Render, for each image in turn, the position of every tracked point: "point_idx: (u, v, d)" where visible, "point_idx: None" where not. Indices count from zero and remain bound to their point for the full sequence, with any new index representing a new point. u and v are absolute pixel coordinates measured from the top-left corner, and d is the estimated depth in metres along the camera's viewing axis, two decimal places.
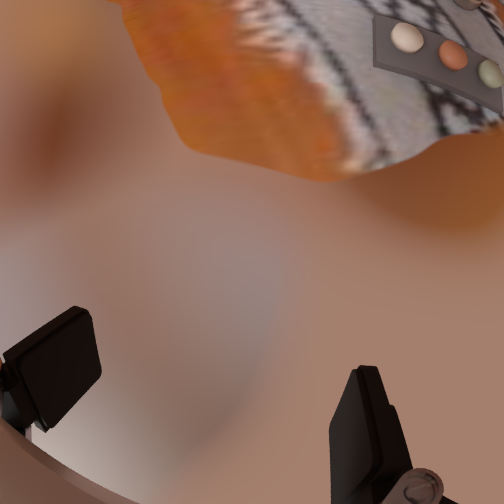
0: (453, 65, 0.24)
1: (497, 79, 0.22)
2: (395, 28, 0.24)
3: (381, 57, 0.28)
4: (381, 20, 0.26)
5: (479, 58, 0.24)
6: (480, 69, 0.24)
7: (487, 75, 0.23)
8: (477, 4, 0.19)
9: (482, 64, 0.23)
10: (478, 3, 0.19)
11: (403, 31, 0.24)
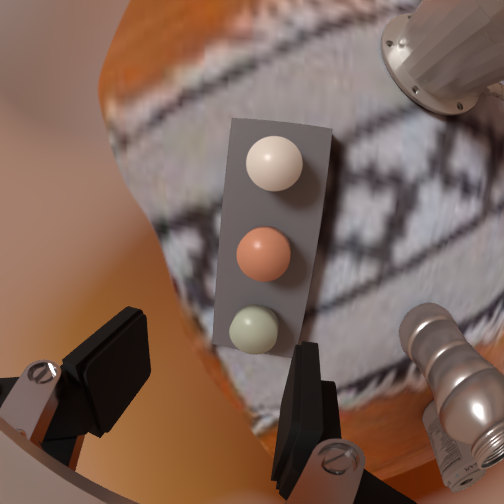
0: (238, 245, 0.24)
1: (242, 339, 0.26)
2: (283, 139, 0.21)
3: (240, 126, 0.24)
4: (319, 136, 0.23)
5: (292, 320, 0.28)
6: (256, 309, 0.26)
7: (241, 317, 0.25)
8: (406, 350, 0.25)
9: (263, 314, 0.25)
10: (407, 352, 0.24)
11: (280, 153, 0.21)
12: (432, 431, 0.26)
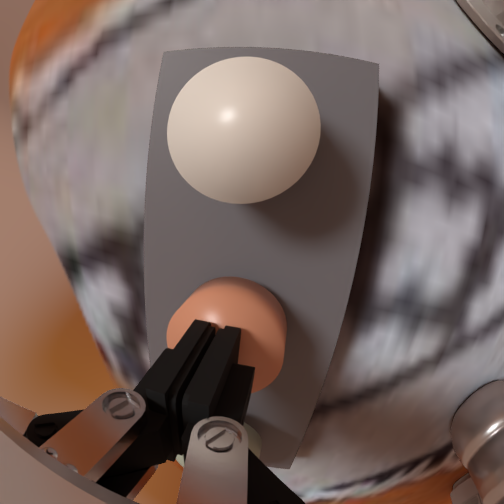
0: (170, 323, 0.10)
1: None
2: (264, 63, 0.07)
3: (179, 63, 0.10)
4: (352, 77, 0.09)
5: (288, 431, 0.14)
6: None
7: None
8: (461, 455, 0.11)
9: None
10: (462, 460, 0.10)
11: (256, 99, 0.07)
12: None
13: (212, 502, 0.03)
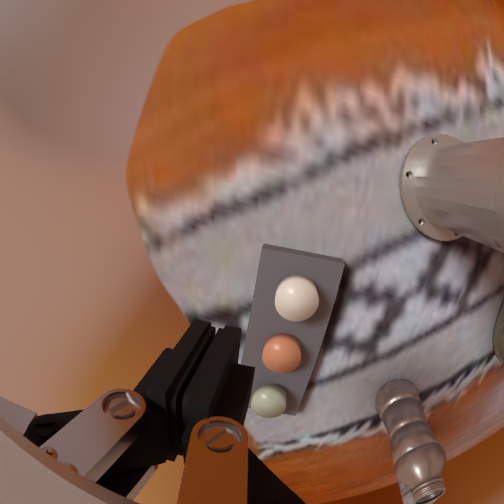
0: (264, 349, 0.31)
1: (260, 408, 0.32)
2: (305, 284, 0.27)
3: (269, 255, 0.30)
4: (333, 269, 0.30)
5: (296, 393, 0.34)
6: (271, 389, 0.32)
7: (261, 396, 0.31)
8: (379, 413, 0.32)
9: (277, 394, 0.31)
10: (380, 416, 0.31)
11: (302, 295, 0.28)
12: None
13: (212, 502, 0.03)
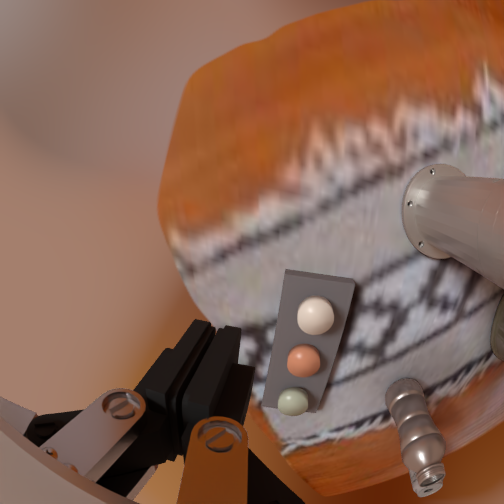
0: (288, 358, 0.36)
1: (286, 408, 0.37)
2: (323, 304, 0.32)
3: (291, 280, 0.35)
4: (345, 289, 0.34)
5: (316, 393, 0.39)
6: (295, 391, 0.37)
7: (286, 397, 0.36)
8: (388, 409, 0.36)
9: (300, 395, 0.36)
10: (389, 411, 0.36)
11: (320, 313, 0.32)
12: None
13: (212, 502, 0.03)
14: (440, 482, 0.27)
